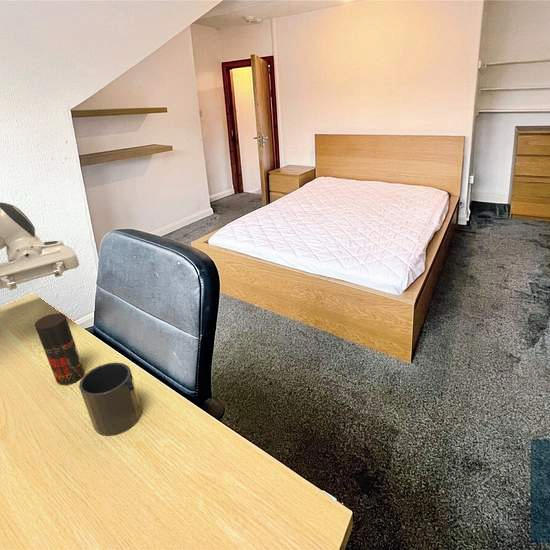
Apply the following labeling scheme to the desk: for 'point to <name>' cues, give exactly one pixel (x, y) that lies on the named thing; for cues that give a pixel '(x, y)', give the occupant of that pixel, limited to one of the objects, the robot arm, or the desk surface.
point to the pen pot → (111, 398)
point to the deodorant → (60, 348)
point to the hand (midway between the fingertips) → (35, 280)
